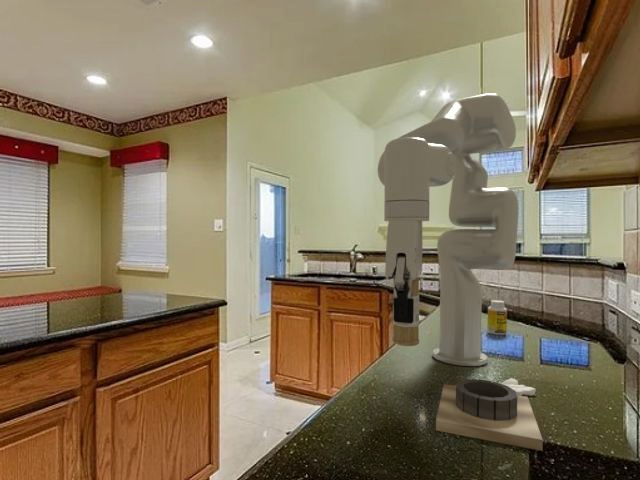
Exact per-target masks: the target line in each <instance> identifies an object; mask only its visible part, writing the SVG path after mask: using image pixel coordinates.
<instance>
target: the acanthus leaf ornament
mask: <svg viewBox="0 0 640 480" xmlns="http://www.w3.org/2000/svg"><path fill="white" fill-rule="evenodd" d="M500 384H503V385H506V386H508V387H510V388H512V389H513V390H515V391H516V393H517V395H518V396H523V395H524V396H534V395H535V393H536V388H535V387H531V386H526V385H525V384H519V381H518V380H517V379H515V378H513V377H509V378H508V379H506V380H505V381H503V382H500Z"/></svg>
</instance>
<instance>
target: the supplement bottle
mask: <svg viewBox="0 0 640 480" xmlns="http://www.w3.org/2000/svg"><path fill="white" fill-rule="evenodd" d="M507 321H508V309H507V308H506V307H505V301H503V300H497V299H495V300H490V306H488V307H487V330H486V331H487V333H488V334H491V335H495V336H504V335H505V336H506V334H507V329H508V328H507V325H508V323H507Z"/></svg>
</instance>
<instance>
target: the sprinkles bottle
mask: <svg viewBox="0 0 640 480" xmlns="http://www.w3.org/2000/svg"><path fill="white" fill-rule="evenodd" d="M409 272H410V271H409ZM393 274H395V269H394V272H393ZM393 277H394V278H392V279H393V285H394V284H395V275H394V276H393ZM420 277H421V275H420V269H419V272H418V277H417V278H416V279H415V280H413V281H412V299H414V321H413V323H401V322H395V321H394V300H393V301H392V302H393V305H392V324H393V329H392V330H393V333H392V334H393V336H392V342H393V344H395V345H398V346H403V347H414V346H417V345H419V344H420V338H419V332H420V331H419V325H420V289H419V288H420V287H419V285H420V281H419V280H420ZM404 279H409V276H405V277H404ZM407 286H408V284H407ZM392 298H394V295H393V297H392Z"/></svg>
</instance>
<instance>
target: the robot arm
mask: <svg viewBox="0 0 640 480" xmlns="http://www.w3.org/2000/svg"><path fill="white" fill-rule="evenodd" d="M516 136H517V127H516V122H515V120H514V118H513V116H512V114H511V111H510V109H509V107H508V105H507V103H506V101H505V100H504V99H503V97H502V96H500V95H498V94H497V93H484V94H479V95H474V96H468V97H463V98H458V99H454V100H452V101H451V100H450V101H449V102H448V103H446V104H444V106H443V107H442V108H440V110H439V111H438V113H436V115H435V116H434V117H433V119H431V121H430V122H428V123H425V124H423V125H421V126H419V127H417V128H415V129H413V130H411V131H409V132H407V133H405V134H403V135H401V136H399V137H397V138H395V139H392V140H390V141H388V143H386V144H385V147H384V151H383V152H382V154H381V155H380V157H379V161H378V163H377V164H378V165H377V175H378V180H379V181H380V183H381V184H382V185H383V187H384V202H383V203H384V206H383V208H384V209H383V212H384V216H383V217H384V220H383V221H384V222H388V223H387V232H386V247H385V268H384V276H385V278H386V280H387V281H388V280H389V281H390V280H392V279H393V278H394V277H393V276H394V275H395V284H394V283H393V296H394V297H393V301H394V302H393V303H394V321H395V322H401V323H413V321H414V299H412V281H413V280H415V279H416V278H417V277H418V272H419V269H420V276H421V275H422V269H423V268H422V267H423V222H430V188H434V187H440V186H441V187H442V186H445V185H447V184H448V183H450V182H451V181H452V182H451V183H452V184H451V190H450V197H449V204H448V218H449V221H450V222H451V224H452V225H454V226H456V227H461V228H457V229H449V230H446V231H444V232H443V233H441V234H440V236H439V237H438V239H437V244H436V249H437V251H436V252H437V256H438V257H437V258H438V264H439V273H440V274H439V276H440V277H439V278H440V280H439V282H440V288H439V289H440V293H439V294H440V295H439V297H440V299H439V300H440V301H439V346H438V347H435V348H434V349H433V350H432V357H433V358H434V359H436V360H437V361H440V362H442V363H445V364H450V365H456V366H461V367H479V366H483V365H486V364H487V363H488V361H489V360H488V359H489V357H488V356H487V354H485V353H483V352H482V346H481V345H482V308H483V307H482V306H483V305H482V303H483V302H482V301H483V300H482V299H483V298H482V297H483V295H482V293H483V290H482V285H481V283H480V281H479V280H478V278H477V277H476V275H475V274H474V273H473V271H472V270H489V271H505V270H509V269H511V267H513V265H514V263H515V259H516V253H517V241H518V228H519V225H518V224H519V209H520V208H519V200H518V196H517V194H516V193H515V191H514V190H513V189H511V188H508V187H489V188H488V179H489V174H488V171H487V170H486V168H485V167H484V165H482V163H480V161H478V160H477V159H476V158H475V157H473V156H472V155H474V154H483V153H490V152H491V153H493V152H500V151H505V150H509V149H510V148H511V147H512V146H513V145H514V143H515V140H516ZM462 227H463V228H462ZM479 228H480V229H479ZM483 228H484V229H483ZM486 228H487V229H486ZM491 228H493V229H491ZM494 228H495V229H494ZM394 269H395V274H393V272H394ZM409 271H410V272H409ZM405 276H409V279H404V277H405ZM407 284H408V286H407Z"/></svg>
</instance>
